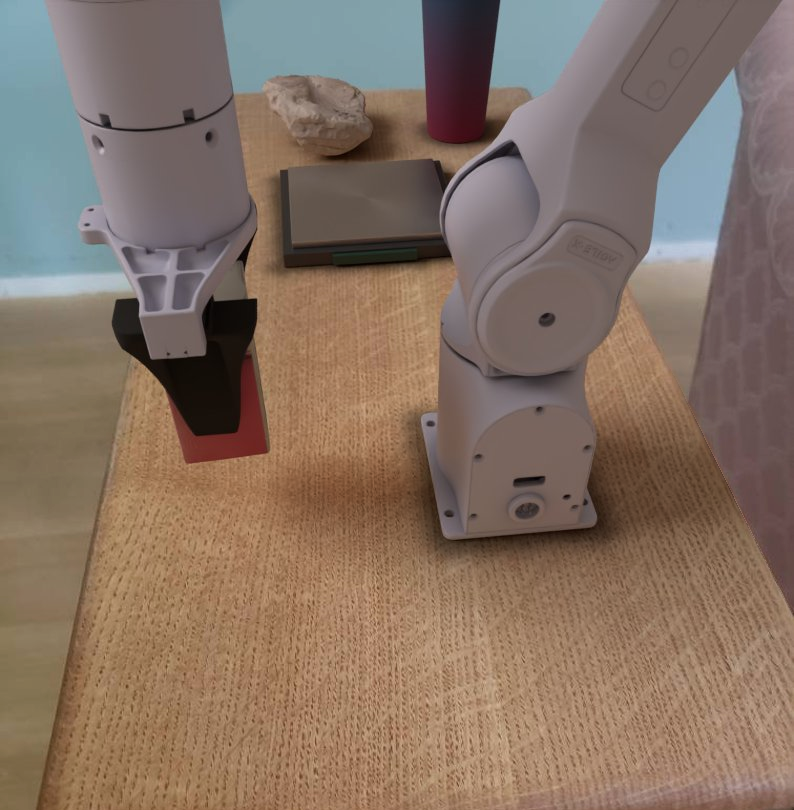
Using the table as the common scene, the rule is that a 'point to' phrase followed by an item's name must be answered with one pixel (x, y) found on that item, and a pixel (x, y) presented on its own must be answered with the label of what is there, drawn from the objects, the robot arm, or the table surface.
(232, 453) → the small box
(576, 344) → the robot arm
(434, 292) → the table surface
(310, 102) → the fossil
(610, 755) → the table surface
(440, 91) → the cup
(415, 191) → the scale
